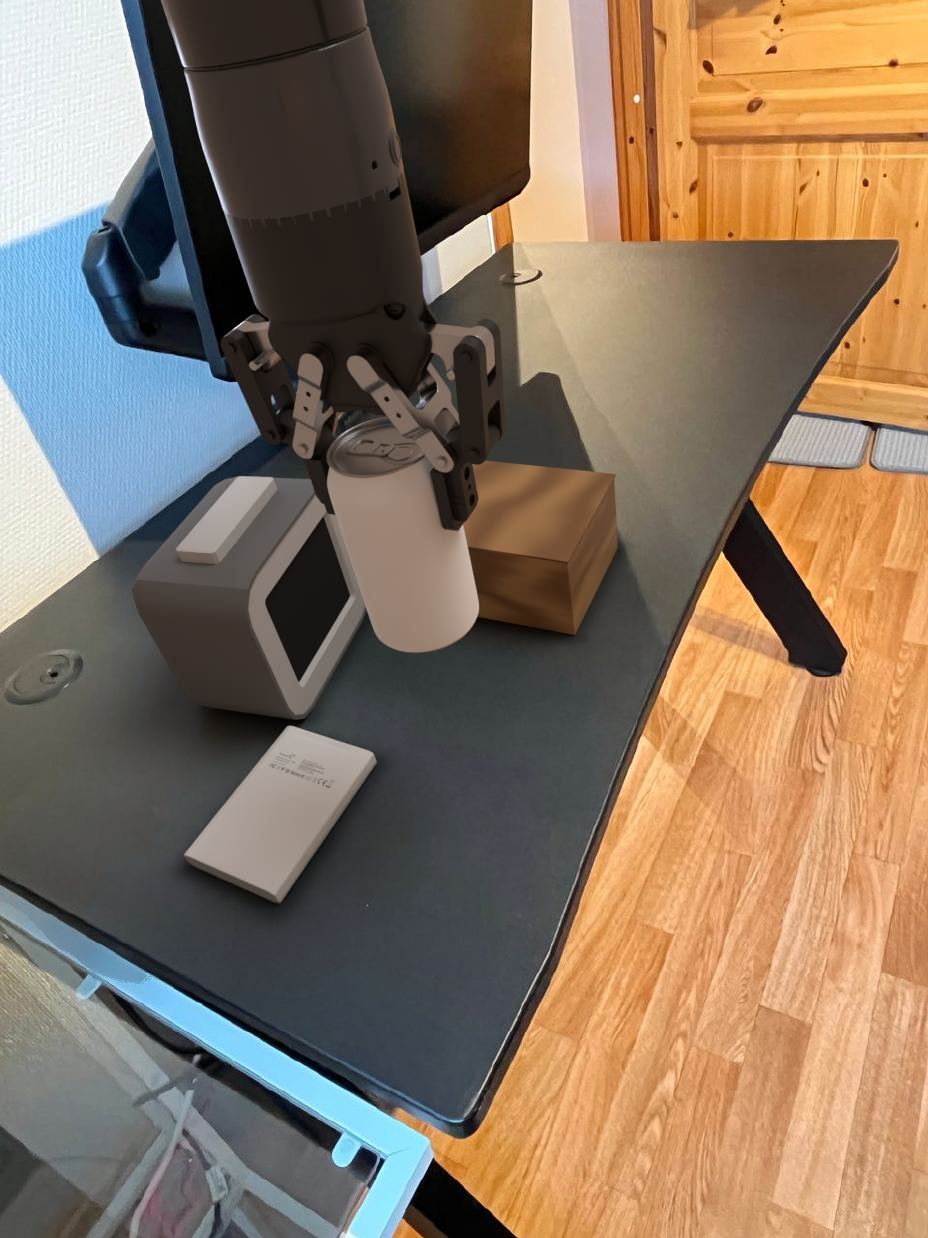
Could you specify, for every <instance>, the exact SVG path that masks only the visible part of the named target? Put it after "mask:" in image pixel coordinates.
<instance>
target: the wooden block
mask: <svg viewBox="0 0 928 1238" xmlns="http://www.w3.org/2000/svg"><path fill="white" fill-rule="evenodd" d="M472 465H473V471H474V476H475V483H476V487H477V488H476V489H477V492H478V498H479V499H478V502H477V506H476V507H475V509H474V510H473V512H472V513H471V515H470V516H469V518H468V519H467V521H466V522H464V523H463V527H464V532H465V537H466V541H467V546H468V551H469V556H470V561H471V566H472V571H473V576H474V580H475V585H476V591H477V596H478V601H479V612H478V616H477V618H482V619H486V620H487V619H488V620H493V621H498V622H503V623H508V624H513V625H519V626H524V627H525V626H526V627H530V628H534V629H540V630H546V631H550V632H556V633H561V634H567V635H572V636H575V635H576V634H577V632H578V630H579V628H580V626H581V624H582V622H583V620H584V618H585V616H586V614H587V612H588V610H589V607H590V605H591V604H592V602H593V599H594V597H595V595H596V593H597V591H598V589H599V587H600V585H601V583H602V581H603V579H604V577H605V575H606V573H607V571H608V569H609V567H610V566H611V563H612V561H613V559H614V557H615V555H616V553H617V552H618V549H619V543H618V542H619V541H618V540H619V539H618V522H617V505H616V504H617V503H616V487H615V479H616V477H617V476H616V475H617V474H616V473H610V472H609V473H608V472H599V471H590V470H581V469H572V468H571V469H570V468H562V467H561V468H560V467H553V466H552V467H551V466H542V465H541V466H540V465H531V464H530V465H529V464H521V463H511V462H502V461H494V460H493V461H492V460H485V461H484V462H483V463H482V464H479V465H475V464H472Z"/></svg>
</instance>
